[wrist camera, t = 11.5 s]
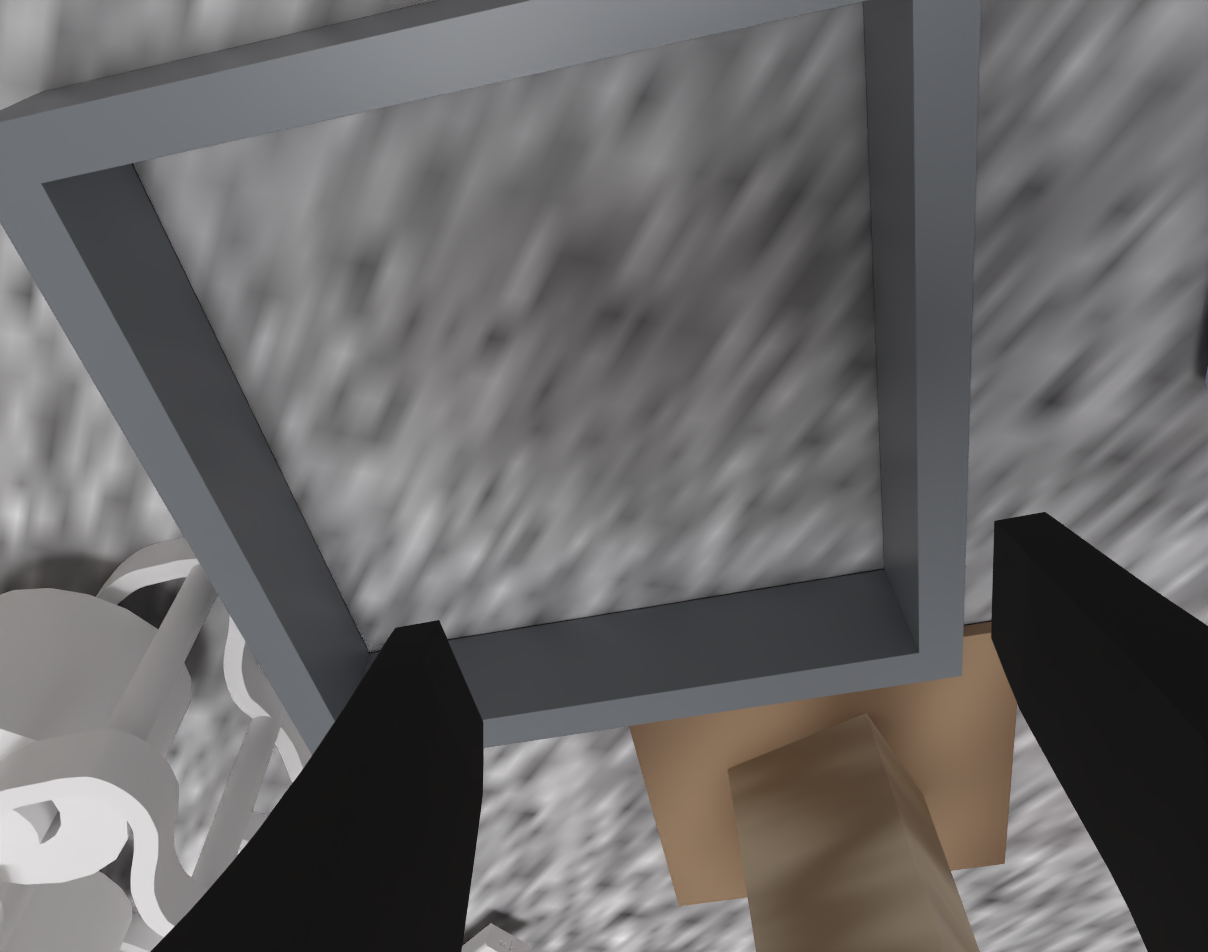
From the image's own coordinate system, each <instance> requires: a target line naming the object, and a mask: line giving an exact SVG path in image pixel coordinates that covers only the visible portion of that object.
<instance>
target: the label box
mask: <svg viewBox="0 0 1208 952" xmlns="http://www.w3.org/2000/svg"><path fill="white" fill-rule="evenodd" d="M728 776H729V782H730V788H731V795H732V801H733V807H734V814H735V820H736V826H737V833H738V839H739V845H740V852H741V858H742V864H743V871H744V877H745V883H746V890H747V896H748V902H749V909H750V915H751V921H752V928H753V934H754V940H755V947H756V952H980V951H979V948H978V946H977V943H976V940H975V937H974V934H973V932H972V929H971V926H970V923H969V921H968V918H967V915H966V912H965V910H964V907H963V904H962V901H961V898H960V896H959V893H958V890H957V887H956V885H955V882H954V879H953V876H952V873H951V871H950V868H949V865H948V862H947V860H946V857H945V854H944V851H943V848H942V846H941V843H940V840H939V837H938V835H937V832H936V829H935V826H934V823H933V821H932V818H931V815H930V812H929V810H928V807H927V804H926V801H925V798H924V796H923V794H922V793H921V791H920V790H919V788H918V787H917V785H916V784H915V782H914V781H913V780H912V778H911V777H910V775H909V774H908V772H907V771H906V769H905V768H904V767H903V765H902V764H901V762H900V761H899V759H898V758H897V756H896V755H895V754H894V752H893V751H892V749H891V748H890V746H889V745H888V743H887V742H886V741H885V739H884V738H883V736H882V735H881V733H880V732H879V730H878V729H877V728H876V726H875V725H874V723H873V722H872V720H871V719H870V717H869V716H868V714H867V713H865V714H862V715H860V716H857V717H855V718H852V719H850V720H847V721H845V722H842V723H840V724H837V725H835V726H832V727H830V728H827V729H825V730H823V731H820V732H818V733H815V734H813V735H810V736H808V737H805V738H803V739H800V740H798V741H795V742H793V743H790V744H788V745H785V746H783V747H780V748H778V749H775V750H773V751H771V752H768V753H766V754H763V755H761V756H758V757H756V758H753V759H751V760H748V761H746V762H743V763H741V764H738V765H736V766H733V767H731V768H728Z"/></svg>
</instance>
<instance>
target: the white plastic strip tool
mask: <svg viewBox="0 0 1208 952" xmlns="http://www.w3.org/2000/svg"><path fill="white" fill-rule="evenodd" d="M529 946H530V945H528V944H526V943H525V942H523V941H521V940H519V939H518V938H516V937H514V936H513V935H511V934H509V933H507V932H506V931H504V930H502V929H500V928H499V927H497V926H495V925H493V924H492V923H490V924H489V925H488V926H486V927H485V928H484V929H483V930H482V931H480V932H479V933H478V934H477V935H475V936H474V937H473V938H472V939H470V940H469V941H468V942H467V943H465V944H464V945H463V946H462V951H461V952H528V951H529Z"/></svg>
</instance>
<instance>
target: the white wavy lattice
mask: <svg viewBox="0 0 1208 952" xmlns="http://www.w3.org/2000/svg"><path fill="white" fill-rule="evenodd" d="M182 577H187V578H186V580H185V581H184V583H183V585H182V587H181V589H180V591H179V592H178V594H177V596H176V598H175V600H174V602H173V604H172V605H171V607H170V609H169V611H168V613H167V615H166V616H165V618H164V620H163V622H162V624H161V626H160V628H159V629H157V628H155V627H154V626H152V625H150V624H149V623H147V622H146V621H144V620H143V619H141V618H140V617H138V616H137V615H135V614H134V613H132V612H131V611H129V610H128V609H125V608H123V607H120V606H118V605H117V604H118V603H119V602H120V601H122V600H123V599H124V598H125V597H127V596H128V595H129V594H131V593H132V592H134V591H135V590H137V589H139V588H142V587H144V586H148V585H152V584H156V583H160V582H164V581H168V580H173V579H177V578H182ZM217 595H218V594H217V592H216V590H215V589H214V587H213V585H212V584H211V582H210V580H209V578H208V577H207V575H206V573H205V572H204V570H203V568H202V566H201V565H200V563H199V561H198V560H197V558H196V556H195V554H194V553H193V551H192V549H191V548H190V546H189V544H188V543H187V541H186V539H185V537H182V538H178V539H174V540H169V541H165V542H161V543H156V544H152V545H149V546H147V547H144V548H142V549H140V550H139V551H137V552H136V553H134V554H133V555H131V556H130V557H129V558H127V559H126V560H125V561H124V562H122V563H121V564H120V565H119V566H118V568H117V569H116V570H115V571H114V572H113V574H112V575H111V576H110V577H109V578H108V580H107V581H106V582H105V584H104V585H103V587H102V588H101V590H100V591H99V593H98V594H97V596H96V597H94V596H92V595H89V594H83V593H77V592H71V591H65V590H59V589H53V588H40V589H23V590H12V591H9V592H6V593H3V594H1V595H0V952H119V950H123V951H126V952H150V951H151V950H152V949H153V948H154V947H155V946H156V945H157V944H158V943H159V942H160V941H161V940H162V939H163V938H164V937H165V936H166V935H167V934H168V933H169V932H170V931H171V930H172V929H173V928H174V926H175V925H176V924H177V923H178V922H179V921H180V920H181V919H182V918H183V917H184V916H185V915H186V914H187V913H188V912H189V911H190V910H191V909H192V908H193V906H194V905H195V904H196V903H197V902H198V901H199V900H200V899H201V898H202V896H203V895H204V894H205V893H206V892H207V891H208V889H209V888H210V887H211V886H212V885H213V884H214V882H215V881H216V880H217V879H218V878H219V877H220V875H221V874H222V873H223V872H224V871H225V870H226V869H227V867H228V866H229V865H230V864H231V863H232V862H233V860H234V859H235V858H236V856H237V853H238V850H239V849H241V850H242V849H243V848H244V847H245V846H246V844H247V843H248V842H249V841H250V839H251V838H252V837H253V836H254V834H255V833H256V832H257V830H258V829H259V828H260V827H261V825H262V824H263V823H264V821H265V820H266V819H267V817H268V816H269V815H265V814H261V813H257V812H252V810H253V807H254V804H255V801H256V798H257V795H258V792H259V789H260V786H261V783H262V781H263V778H264V775H265V772H266V769H267V766H268V763H269V760H270V757H271V754H272V751H273V749H274V746H275V745H276V746H277V748H278V750H279V752H280V754H281V756H282V758H283V761H284V763H285V766H286V768H287V771H288V773H289V776H290V778H291V781H292V783H293V782H294V780H295V779H296V778H297V776H298V775H299V774H300V772H301V771H302V769H303V768H304V766H305V765H306V764H307V762H308V761H309V759H310V758H311V756H312V754H311V753H310V751H309V749H308V748H307V746H306V744H305V742H304V741H303V739H302V737H301V736H300V734H299V732H298V731H297V729H296V727H295V725H294V724H293V722H292V720H291V719H290V717H289V715H288V713H287V712H286V710H285V708H284V707H283V705H282V703H281V701H280V700H279V698H278V696H277V695H276V693H275V691H274V690H273V688H272V686H271V684H270V683H269V681H268V679H267V678H266V676H265V674H264V673H263V672H262V671H261V670H260V668H259V665H258V663H257V660H256V659H255V657H254V655H253V654H252V652H251V650H250V648H249V647H248V645H247V643H246V642H245V640H244V638H243V637H242V635H241V633H240V631H239V630H238V628H237V626H236V625H235V623H234V621H233V619H232V618H231V616H230V619H229V631H228V636H227V641H226V645H225V652H224V664H223V668H224V675H225V679H226V683H227V687H228V690H229V692H230V695H231V697H232V699H233V701H234V702H235V703H236V705H237V706H238V707H239V708H240V709H241V710H242V711H243V712H245V713H246V714H247V715H249V716H250V717H251V718H252V720H251V722H250V725H249V728H248V730H247V733H246V735H245V738H244V741H243V743H242V746H241V749H240V751H239V754H238V756H237V759H236V762H235V764H234V767H233V770H232V772H231V775H230V778H229V780H228V783H227V785H226V788H225V791H224V793H223V796H222V799H221V801H220V804H219V807H218V809H217V812H216V814H215V817H214V820H213V822H212V825H211V828H210V830H209V833H208V835H207V838H206V841H205V843H204V846H203V849H202V851H201V854H200V857H199V859H198V862H197V864H196V867H195V870H194V872H193V875H192V877H190V876H189V875H188V874H186V872H185V871H184V869H183V868H182V866H181V864H180V862H179V860H178V857H177V854H176V851H175V847H174V827H175V822H176V817H177V812H178V804H179V786H178V782H177V780H176V777H175V775H174V773H173V771H172V769H171V767H170V764H169V763H168V762H167V760H166V759H165V757H166V755H167V752H168V750H169V748H170V746H171V744H172V741H173V739H174V737H175V735H176V733H177V731H178V728H179V726H180V724H181V722H182V720H183V717H184V715H185V713H186V711H187V709H188V707H189V704H190V702H191V677H190V674H189V672H188V670H187V668H186V665H185V663H184V662H185V660H186V658H187V656H188V654H189V652H190V650H191V648H192V646H193V644H194V642H195V640H196V638H197V636H198V633H199V631H200V629H201V627H202V625H203V623H204V621H205V619H206V617H207V615H208V613H209V611H210V609H211V607H212V605H213V603H214V601H215V599H216V597H217ZM132 830H133V834H134V855H133V862H132V868H131V893H132V896H133V899H134V902H135V905H136V907H137V909H138V912H139V913H140V915H141V916H139V915H136V914H132V904H131V903H130V901H129V899H128V898H127V896H126V895H125V893H124V891H123V890H122V888H121V887H119V886H118V885H117V884H116V883H114V882H113V881H112V880H111V879H110V878H108V877H107V876H106V875H105V874H103V873H102V872H100V871H99V870H100V869H102V868H103V867H105V866H106V865H108V864H110V863H111V862H113V861H114V860H116V859H117V857H118V855H119V853H120V852H121V850H122V848H123V846H124V845H125V843H126V841H127V839H128V837H129V835H130V833H131V831H132Z"/></svg>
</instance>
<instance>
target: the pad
mask: <svg viewBox="0 0 1208 952" xmlns="http://www.w3.org/2000/svg"><path fill="white" fill-rule="evenodd" d="M991 625H992V621H991V622H985V623H979V624H972V625H966V626H964V628H963V664H962V676H958V677H951V678H945V679H938V680H931V681H925V682H918V683H911V684H905V685H898V686H892V687H885V688H878V689H872V690H865V691H858V692H852V693H845V694H838V695H832V696H825V697H818V698H812V699H805V700H799V701H792V702H785V703H779V704H772V705H765V706H759V707H752V708H745V709H739V710H732V711H725V712H719V713H712V714H706V715H699V716H692V717H686V718H679V719H672V720H666V721H659V722H652V723H646V724H639V725H632V726H629V727H630V731H631V734H632V738H633V742H634V745H635V749H636V752H637V756H638V760H639V763H640V767H641V770H642V774H643V778H644V781H645V785H646V788H647V792H648V796H649V799H650V803H651V807H652V810H653V814H654V817H655V821H656V825H657V828H658V832H659V835H660V839H661V843H662V846H663V850H664V853H665V857H666V861H667V864H668V868H669V871H670V875H671V879H672V882H673V886H674V889H675V893H676V897H677V900H678V904H679V906H684V905H692V904H700V903H707V902H715V901H723V900H730V899H738V898H745V897H748V896H747V890H746V883H745V877H744V871H743V864H742V858H741V852H740V845H739V839H738V833H737V826H736V820H735V814H734V807H733V801H732V795H731V788H730V782H729V776H728V768H731V767H733V766H736V765H738V764H741V763H743V762H746V761H748V760H751V759H753V758H756V757H758V756H761V755H763V754H766V753H768V752H771V751H773V750H775V749H778V748H780V747H783V746H785V745H788V744H790V743H793V742H795V741H798V740H800V739H803V738H805V737H808V736H810V735H813V734H815V733H818V732H820V731H823V730H825V729H827V728H830V727H832V726H835V725H837V724H840V723H842V722H845V721H847V720H850V719H852V718H855V717H857V716H860V715H862V714H865V713H867V714H868V716H869V717H870V719H871V720H872V722H873V723H874V725H875V726H876V728H877V729H878V730H879V732H880V733H881V735H882V736H883V738H884V739H885V741H886V742H887V743H888V745H889V746H890V748H891V749H892V751H893V752H894V754H895V755H896V756H897V758H898V759H899V761H900V762H901V764H902V765H903V767H904V768H905V769H906V771H907V772H908V774H909V775H910V777H911V778H912V780H913V781H914V782H915V784H916V785H917V787H918V788H919V790H920V791H921V793H922V794H923V796H924V798H925V801H926V804H927V807H928V810H929V812H930V815H931V818H932V821H933V823H934V826H935V829H936V832H937V835H938V837H939V840H940V843H941V846H942V848H943V851H944V854H945V857H946V860H947V862H948V865H949V868H950V871H952V870H959V869H967V868H975V867H982V866H990V865H998V864H1005V852H1006V839H1007V826H1008V813H1009V801H1010V788H1011V775H1012V762H1013V749H1014V737H1015V724H1016V711H1017V701H1016V699H1015V697H1014V694H1013V692H1012V689H1011V687H1010V685H1009V682H1008V680H1007V677H1006V675H1005V672H1004V670H1003V667H1002V665H1001V662H1000V659H999V657H998V654H997V652H996V649H995V647H994V644H993V642H992V639H991Z"/></svg>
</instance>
